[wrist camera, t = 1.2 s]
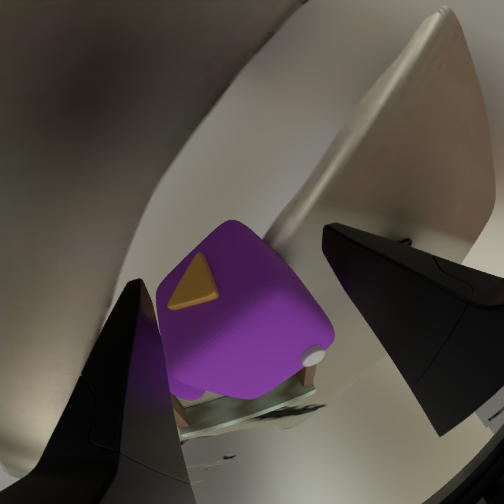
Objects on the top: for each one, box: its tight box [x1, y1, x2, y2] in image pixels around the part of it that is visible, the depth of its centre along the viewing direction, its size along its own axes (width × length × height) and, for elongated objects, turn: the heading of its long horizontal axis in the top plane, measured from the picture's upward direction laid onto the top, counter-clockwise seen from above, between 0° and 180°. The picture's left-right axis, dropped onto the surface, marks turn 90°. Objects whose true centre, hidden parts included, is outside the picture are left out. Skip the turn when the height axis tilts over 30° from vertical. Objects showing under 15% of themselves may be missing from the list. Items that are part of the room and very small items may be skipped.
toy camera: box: [156, 220, 335, 400], centre depth 21 cm, size 11×14×10 cm
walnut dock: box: [170, 363, 317, 437], centre depth 32 cm, size 20×16×4 cm
